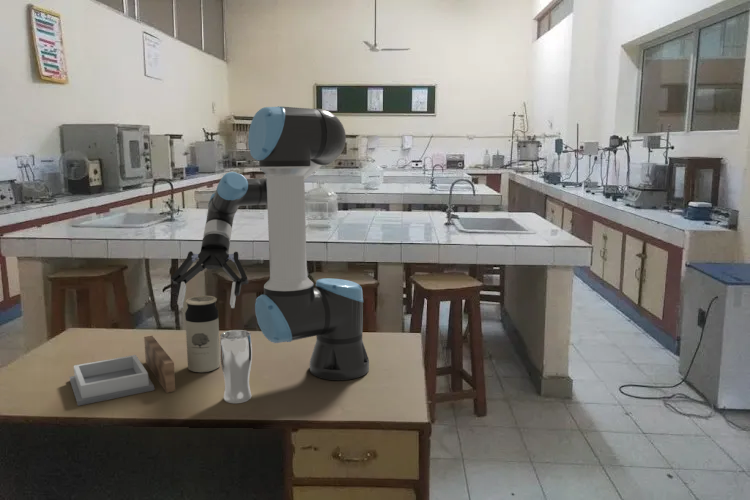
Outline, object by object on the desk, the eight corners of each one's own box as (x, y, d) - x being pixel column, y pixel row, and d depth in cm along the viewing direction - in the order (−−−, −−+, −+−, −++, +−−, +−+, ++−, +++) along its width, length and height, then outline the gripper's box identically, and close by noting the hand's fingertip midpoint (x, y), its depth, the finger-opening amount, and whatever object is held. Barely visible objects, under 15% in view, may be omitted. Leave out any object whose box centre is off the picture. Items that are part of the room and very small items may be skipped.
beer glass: (233, 389, 138) (231, 327, 135) (259, 394, 135) (257, 331, 132) (215, 401, 131) (212, 337, 128) (241, 406, 129) (239, 341, 126)
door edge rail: (175, 390, 136) (173, 362, 135) (166, 392, 135) (164, 364, 134) (153, 361, 155) (152, 335, 153) (145, 362, 153) (144, 336, 152)
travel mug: (196, 360, 155) (193, 294, 152) (225, 362, 154) (222, 296, 151) (182, 372, 148) (178, 302, 144) (212, 374, 146) (209, 304, 143)
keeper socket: (154, 390, 137) (153, 373, 136) (77, 405, 128) (76, 388, 127) (140, 367, 150) (139, 352, 149) (69, 380, 141) (68, 364, 141)
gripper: (262, 247, 171) (255, 312, 159) (175, 247, 170) (161, 312, 158) (259, 232, 165) (251, 298, 153) (168, 231, 163) (154, 298, 152)
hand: (206, 305), depth 155 cm, fingers open, 13 cm apart
